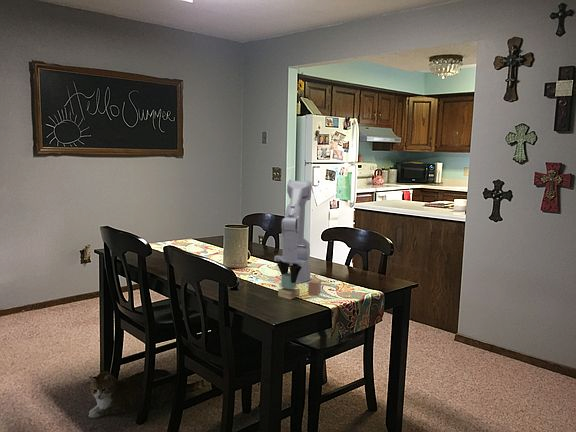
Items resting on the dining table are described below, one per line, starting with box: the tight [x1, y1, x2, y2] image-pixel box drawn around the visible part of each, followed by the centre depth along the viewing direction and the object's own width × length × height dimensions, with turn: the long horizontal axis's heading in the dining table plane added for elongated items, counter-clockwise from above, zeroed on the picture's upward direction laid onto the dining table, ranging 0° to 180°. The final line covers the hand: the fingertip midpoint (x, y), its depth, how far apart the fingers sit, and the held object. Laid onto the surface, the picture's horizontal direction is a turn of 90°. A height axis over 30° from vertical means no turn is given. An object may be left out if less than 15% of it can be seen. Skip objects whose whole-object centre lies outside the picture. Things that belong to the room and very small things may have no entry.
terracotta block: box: [307, 279, 322, 296], centre depth 206 cm, size 4×4×5 cm
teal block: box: [281, 272, 297, 289], centre depth 201 cm, size 4×4×5 cm
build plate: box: [227, 276, 244, 292], centre depth 212 cm, size 12×7×5 cm, turn 176°
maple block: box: [277, 287, 301, 300], centre depth 202 cm, size 6×6×3 cm
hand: (289, 281), depth 201 cm, fingers closed on teal block, 4 cm apart
